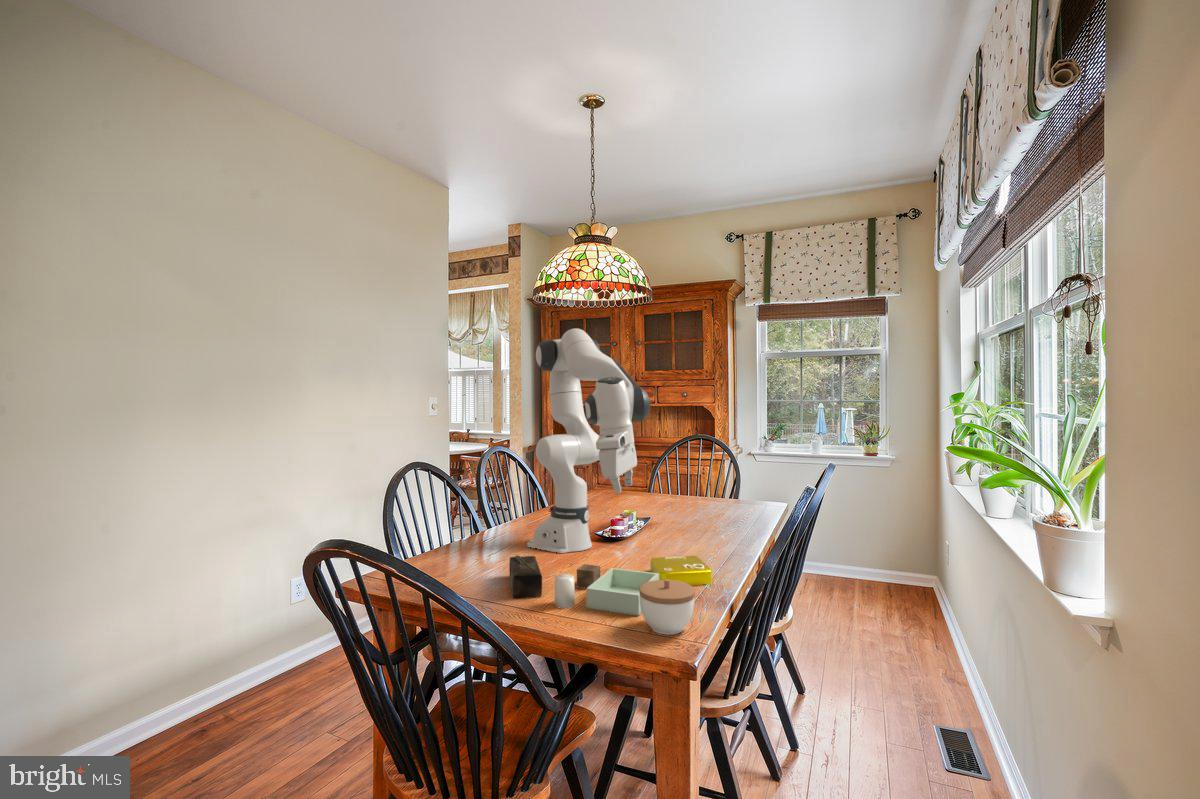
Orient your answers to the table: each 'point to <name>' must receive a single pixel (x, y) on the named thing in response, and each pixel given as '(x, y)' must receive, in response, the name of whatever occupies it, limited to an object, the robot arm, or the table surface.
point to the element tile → (682, 569)
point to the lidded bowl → (667, 605)
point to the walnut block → (587, 575)
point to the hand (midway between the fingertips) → (623, 489)
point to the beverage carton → (525, 577)
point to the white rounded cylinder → (564, 591)
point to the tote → (618, 591)
